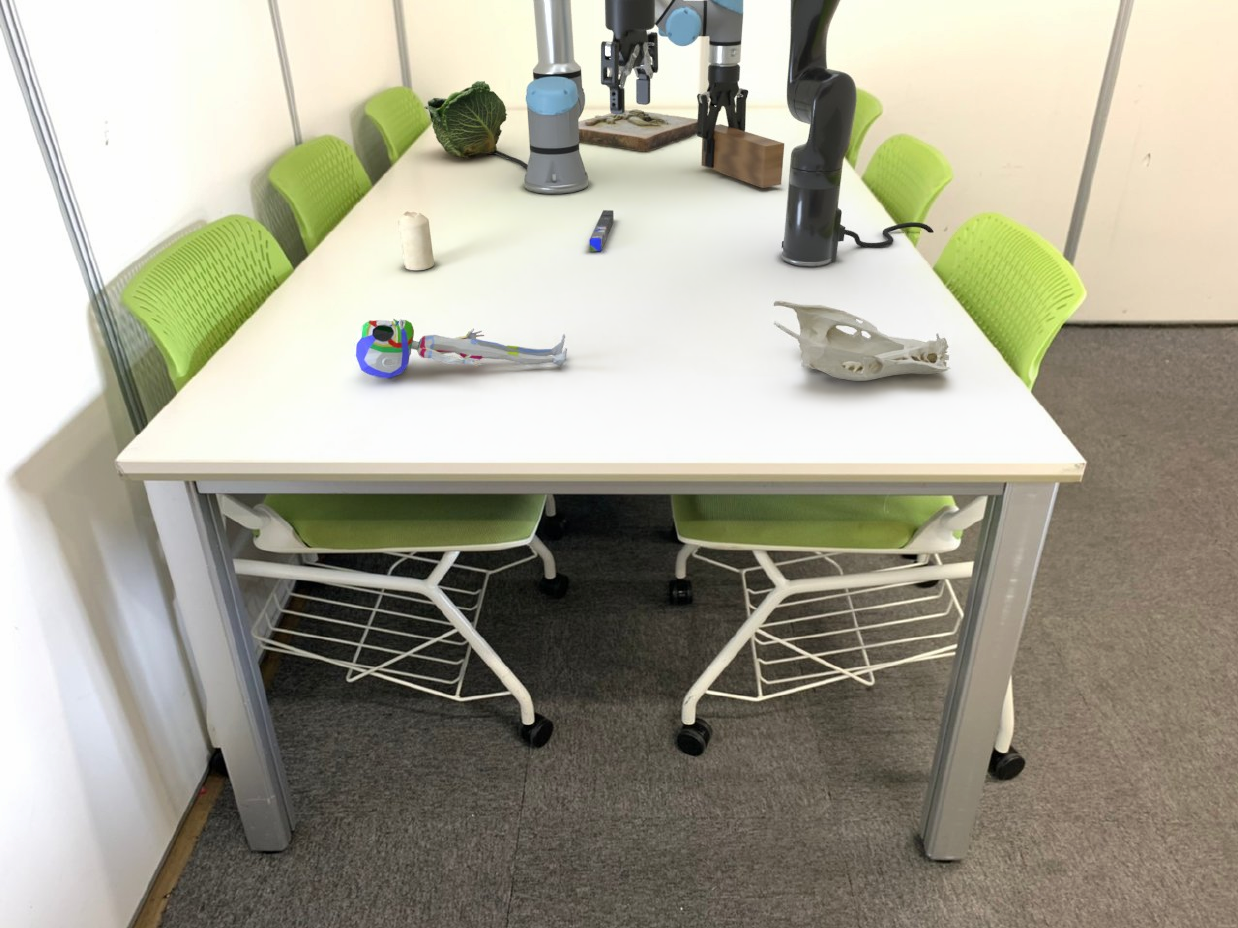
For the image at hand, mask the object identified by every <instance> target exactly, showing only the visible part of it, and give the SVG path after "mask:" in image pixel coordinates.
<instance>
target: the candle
mask: <svg viewBox="0 0 1238 928" xmlns="http://www.w3.org/2000/svg"><path fill="white" fill-rule="evenodd" d="M397 224H398V232H399V238H400V244H401V251H402V257H403V258H402V259H403V264H404V267H405V269H407V270H410V271H422V270H423V271H424V270H427V269H431V268H432V267H433V266H434V265H435V259H434V252H433V250H434V249H433V244H432V236H431V228H430V227H431V226H430V220H429V218H428V217H427V216H425V215H424V214H423V213H421V212H414V211H405V213H403V214H402V215H401V217H400V218H399V220H398V221H397Z"/></svg>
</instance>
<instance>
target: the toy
mask: <svg viewBox="0 0 1238 928" xmlns="http://www.w3.org/2000/svg"><path fill="white" fill-rule="evenodd" d="M474 331H475V328H472V329H471V330H469V331H468V332H467V333H466V334H465V335H463V336H458V337H449V336H448V337H447V336H442V335H439V334H428V335H423V336H421V338H420V339H419V341H417V340H414V336H415V329H414V326H413V324H412V322H410V321H408V320H407V319H399V320H397V319H395V318H392V320H387V319H379V320H368V321H367V322H365V323H364V324H362V326H361V329H360V331H359V333H358V334H357V338H356V340H355V342H354V354H353V355H354V357H355V359H356V362H357V364H358V366H359V369H360V370H361V372H364V373H366V374H367V375H370V376H373V377H377V378H382V379H383V378H384V379H392V378H394V377H396V376H398V375H400V374H401V375H402V374H403V372H404V371H405V370H406V368H407V367H408V366H409V364H410V357H411V355H412V350H415V351H417V353H418V356H419V357H421V358H422V359H430V360H434V361H438V362H442V363H444V364H449V365H458V364H459V365H461V364H465V365H471V366H477V367H479V368H480V367H481V366H482V365H483V363H482V362H478V361H480V360H482V359H487V360H488V359H489V360H503V361H509V362H514V363H517V364H520V365H528V366H529V365H542V364H550V363H553V364H555V365H557V366H559V367H562V366H563V364H564V362H565V361H566V360H567V357H568V355H567V353H568V348H566V347H565V348H564V345H565V340H566V334H565V333H563V334H562V338H561V340H560V341H559V343H558V344H556V345H555V346H554V347H552V348H533V347H532V348H531V347H523V346H518V345H517V346H516V345H504V344H501V343H498V342H494V341H488V340H482V339H478V338H479V337H480V338H481V337H485V334H480V333H482V332H483V331H482V330H479V331H476V332H474ZM563 349H564V350H563ZM453 353H455V354H457V355H459V357H458V356H455V355H448V354H453ZM445 354H447V355H445Z"/></svg>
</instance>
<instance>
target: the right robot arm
mask: <svg viewBox="0 0 1238 928" xmlns="http://www.w3.org/2000/svg"><path fill="white" fill-rule="evenodd" d="M840 2H841V0H790V39H789V41H790V42H789V55H788V57H789V58H788V68H787V78H786V79H787V80H786V81H787V82H786V104H787V108H788V111H789V113H790V114H791V116H792V117H793V119H796V121H799V122H800V123H804V124H807V125H809V131H808V137H807V141H806V142H805V143H804V144H799V145H797V146H794V147H793V149H792V150H791V153H790V161H789V175H788V185H787V186H788V187H787V189H788V190H787V198H786V209H785V210H786V211H785V221H784V231H783V241H781V249H782V251H781V259H782V260H783V261H784V262H786V263H788V264H790V265H793V266H794V265H795V266H799V267H820V266H821V267H822V266H824V265H828V264H830V263H832V262H836V261H837V257H838V256H837V255H838V247H839V242H844V241H845V236H849V237H851V238H853V239H854V242H855V244H856V245H857V246H859V247H861V248H870V249H871V248H873V249H875V248H882V247H883V248H884V247H887V246H891V245H892V244H893V243H894V237H893V236H892V235H891V232H894V231H897V230H901V229H906V228H919V229H922V230H924V231H926V232H927V233H929V234H932V233H934V229H933V228H932V227H931V226H929V225H928V224H926V223H922V222H916V221H913V222H911V221H909V222H903V223H899V224H895V225H892V226H888V227H886V228H884V229H883V230H882V236H883V237H884V238H885V239H886V240H884V241H879V242H867V241H862V240H861V238H860V236H859V234H858V233H856V232H855V231H852V230H849V229H846V227H845V225H842V224H841V223H842V212H843V211H842V209H840V208H839V202H840V201H839V200H840V193H841V182H842V174H843V166H844V159H845V157H846V155H847V153H848V151H849V149H850V148H849V147H850V145H851V140H852V134H853V128H854V121H855V115H856V110H857V100H858V94H857V93H858V92H857V86H856V83H855V81H854V78H853V77H852V76H851V75H849V73H846V72H844V71H841V70H836V69H830V68H828V62H827V48H828V47H827V45H828V34H829V31H830V29H829V28H830V26H831V23H832V20H833V18H834V15H835V13H836V11H837V9H838V7H839V4H840ZM604 21H605V23H604V24H605V28H606V29H607V30H609V31H611V32H612V34H613V35H612V41H605V40H603V41H601V43H600V84H601V85H602V86H606V87H607V88H608V89H609V112H610V113H612V114H623V113H624V112H625V110H626V107H625V106H626V105H625V103H626V101H625V98H626V97H625V96H626V95H625V93H626V92H625V91H626V90H625V85H626V81H627V77H628V76H630V75H631V74H632V71H633V70H634V74H635V76H636V81H635V100H636V104H637V105H641V106H643V105H644V106H648V105H649V104H650V103H651V80H652V79H653V77H654V74H657V73H658V72H659V38H658V37H659V36H658V35H659V33H658V32H656V31H655V32H654V31H650V30H653V29H654V28H655V27H656V25H655V0H604ZM608 71H609V72H608Z"/></svg>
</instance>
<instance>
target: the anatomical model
mask: <svg viewBox="0 0 1238 928" xmlns="http://www.w3.org/2000/svg"><path fill="white" fill-rule="evenodd" d="M773 307H783V308H784V307H785V308H788V309H792V310H793V311H794V312H795V313H796V319H797V321H798V324H799V331H800V332H799V333H800V334H798V333H796V332H795V331H792V330H791V329H789V328H788V327H786V326H784V325H782V324H781V323H779V322H777V321H774V322H773V325H774V326H775V327H777V328H778V329H780V330H782V331H783V332H785V333H786V334H787V335H789V336H791V337H793V338H794V339H796V340H797V342H798V344H799V345H798V347H799V350H800V354H801V360H802V361H801V367H803V368H808V369H813V370H817V371H821V372H823V373H825V374H827V375H829V376H830V377H833V378H835V379H841V380H847V381H854V382H857V381H858V382H861V381H864V382H865V381H872V380H876V379H882V378H886V377H890V376H891V377H892V376H898V375H909V374H915V375H916V374H917V375H919V374H920V375H929V374H931V375H932V374H933V375H934V374H939V373H943V372H947V371H949V370H951V369H952V367H950V366H947V361H950V355H949V354H947V353H948V351H947V349H948V348H949V347H950V346H949V345H948V341H947V339H946V337H940V334H939V333H936V334H935V336H936V340H929V339H928V341H922V340H919V339H914V338H905V337H904V338H903V337H896V336H889V335H887V334H885V333H883V332H881V331H879V330H878V328H877V326H875V325H874V324H873V323H871V322H870V321H868V320H866V319H863V318H861V317H860V316H857V315H854V314H852V313H850V312H847V311H845V310H841V309H838V308H835V307H830V306H827V305H822V304H799V303H795V302H788V301H783V300H775V301H774V302H773ZM859 321H860V322H861V323H860V322H859ZM839 326H840V327H841V326H842V327H849V328H852V329H854V330H856V331H855V332H854V333H853V334H852V333H847V332H845V331H844V330H842V329H839V328H838V327H839ZM862 332H866V333H867V334H868V335H869V337H867V336H864V335H863V333H862Z"/></svg>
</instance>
